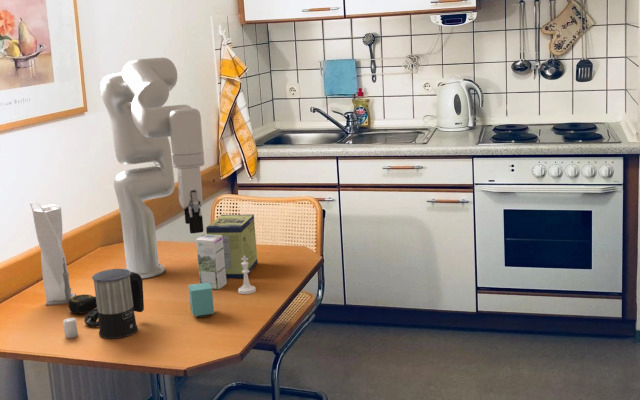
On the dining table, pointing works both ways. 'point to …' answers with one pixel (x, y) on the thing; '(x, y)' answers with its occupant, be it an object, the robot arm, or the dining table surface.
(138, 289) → the milk frother
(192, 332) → the dining table surface
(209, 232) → the protein box
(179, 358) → the dining table surface
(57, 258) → the skyscraper
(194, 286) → the teal rectangular block
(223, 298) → the dining table surface
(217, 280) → the syrup box
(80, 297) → the tape measure
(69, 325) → the short round post
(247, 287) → the chess piece
